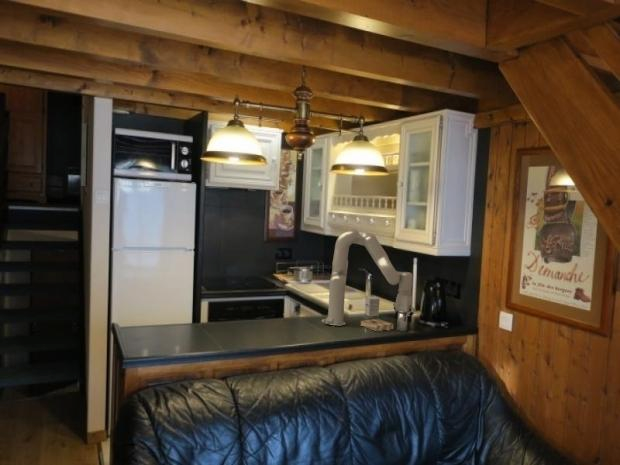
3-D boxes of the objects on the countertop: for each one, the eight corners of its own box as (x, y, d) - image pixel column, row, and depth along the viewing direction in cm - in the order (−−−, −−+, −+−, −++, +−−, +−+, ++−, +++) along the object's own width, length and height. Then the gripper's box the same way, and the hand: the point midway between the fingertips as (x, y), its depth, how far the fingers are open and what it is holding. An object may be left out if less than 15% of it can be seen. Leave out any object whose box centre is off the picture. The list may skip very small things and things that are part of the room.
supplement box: (364, 314, 336) (365, 296, 335) (374, 314, 338) (375, 296, 337) (368, 317, 329) (369, 298, 328) (378, 317, 331) (379, 298, 330)
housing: (376, 332, 291) (376, 326, 291) (360, 326, 302) (360, 321, 302) (393, 329, 299) (393, 323, 299) (377, 324, 310) (377, 318, 310)
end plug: (402, 331, 295) (403, 312, 295) (394, 329, 301) (395, 309, 300) (409, 330, 299) (410, 311, 298) (401, 327, 305) (402, 309, 304)
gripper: (390, 290, 303) (388, 317, 304) (411, 295, 289) (409, 324, 290) (398, 289, 307) (397, 316, 308) (420, 294, 294) (418, 323, 295)
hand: (403, 320), depth 299 cm, fingers open, 9 cm apart
